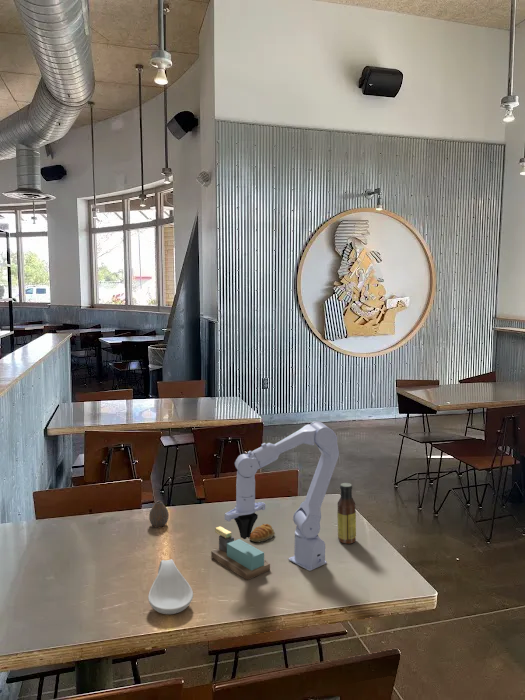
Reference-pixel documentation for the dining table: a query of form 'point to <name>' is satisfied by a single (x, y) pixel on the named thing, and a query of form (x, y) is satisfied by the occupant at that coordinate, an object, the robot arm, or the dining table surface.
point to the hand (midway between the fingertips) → (245, 537)
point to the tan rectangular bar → (223, 532)
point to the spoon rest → (170, 590)
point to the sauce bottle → (346, 515)
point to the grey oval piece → (158, 514)
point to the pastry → (262, 533)
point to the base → (222, 558)
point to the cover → (245, 554)
